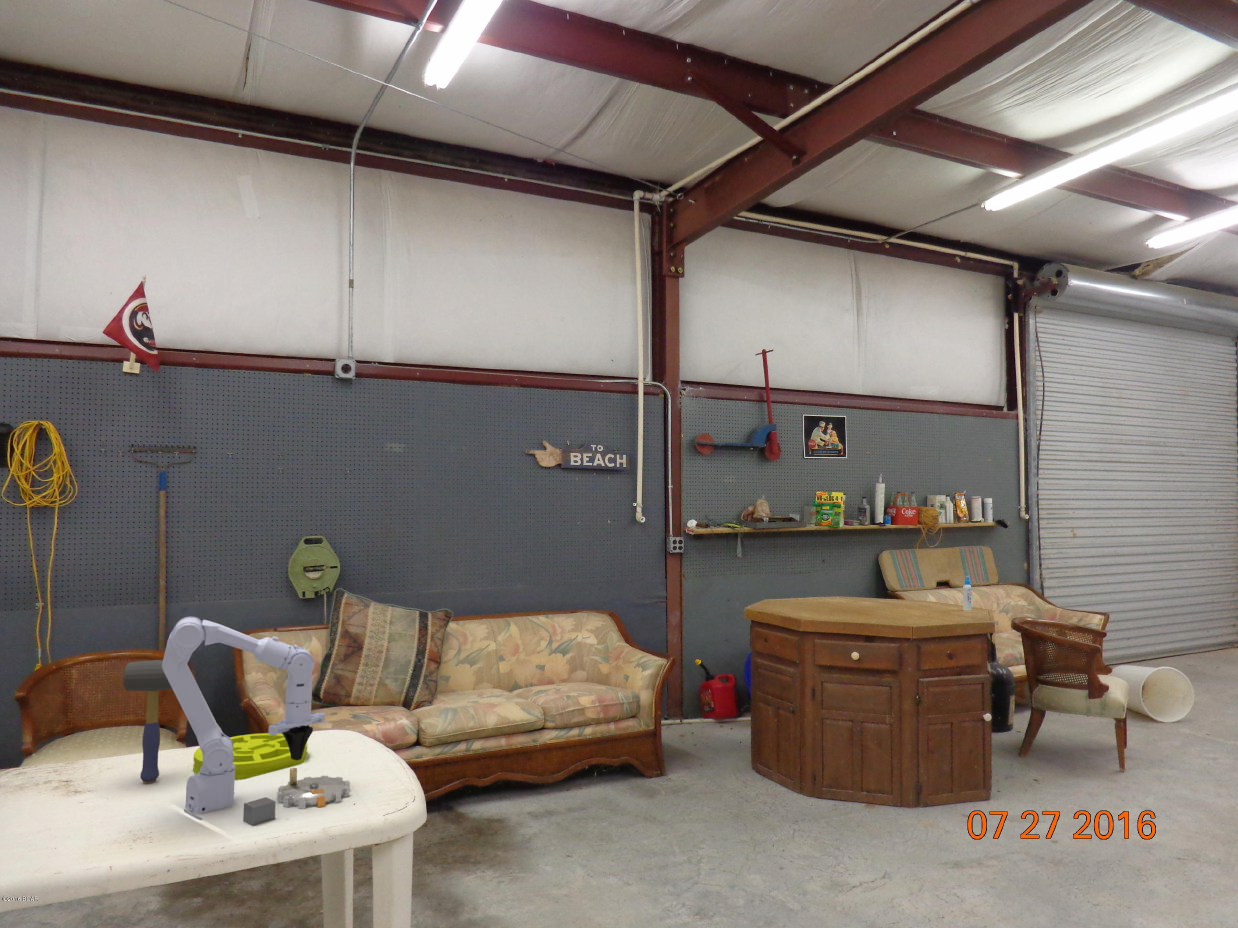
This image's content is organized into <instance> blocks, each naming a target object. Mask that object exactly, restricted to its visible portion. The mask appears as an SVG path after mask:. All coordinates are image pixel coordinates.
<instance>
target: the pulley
mask: <svg viewBox="0 0 1238 928" xmlns="http://www.w3.org/2000/svg"><path fill="white" fill-rule="evenodd" d="M229 738H230V739H231V740H232V742H233V754H234V760H233V763H234V764H235V781H238V780H239V781H240V780H242V779H243V780H247V779H250V778H254V777H259V776H262V775H266V774H270V773H273V772H276V771H280V770H284V769H288V768H294V767H296V766H300V765H303V764H304V763H305V762H306V761H307V759H306V758H308V752H307V751H308V742H307V743H306V746H305V748H304V752H303V755H302V759H300V760H293V759H291V754H290V750H289V747H288V744H287V741H286V739H285V737H284V736H283V734H282V733H278V735H275V736H273V735H269V732H265V733H263V732H262V733H250V734H244V735H243V734H242V735H236V736H235V735H234V736H231V737H229ZM305 760H306V761H305ZM202 761H203V754H202V751H201V749H200V747H198V748H197V749H196V750H194V752H193V768H192V769H193V770H192V771H193V772H195V773H196V774H197V773H199V772H200V768H201V767H202V766H203V762H202ZM304 761H305V762H304ZM303 762H304V763H303ZM302 763H303V764H302ZM196 774H195V775H196Z"/></svg>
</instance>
